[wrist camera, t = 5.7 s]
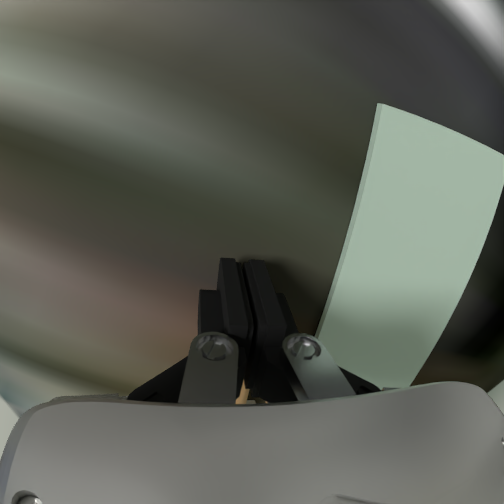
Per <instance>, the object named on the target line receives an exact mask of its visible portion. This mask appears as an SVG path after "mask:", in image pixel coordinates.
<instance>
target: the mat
mask: <svg viewBox="0 0 504 504" xmlns="http://www.w3.org/2000/svg"><path fill="white" fill-rule="evenodd" d="M503 185H504V155H503V154H501V153H499V152H497V151H495V150H493V149H491V148H489V147H487V146H485V145H483V144H481V143H479V142H477V141H475V140H473V139H471V138H469V137H466V136H464V135H462V134H460V133H458V132H455V131H453V130H451V129H448V128H446V127H444V126H441V125H439V124H436V123H434V122H431V121H429V120H426V119H424V118H421V117H419V116H416V115H413V114H411V113H408V112H405V111H402V110H399V109H396V108H393V107H391V106H387V105H384V104H380V103H377V109H376V114H375V119H374V124H373V129H372V134H371V138H370V143H369V148H368V152H367V157H366V161H365V165H364V170H363V174H362V178H361V182H360V186H359V190H358V194H357V198H356V202H355V206H354V210H353V214H352V217H351V221H350V225H349V228H348V232H347V236H346V239H345V243H344V246H343V250H342V253H341V257H340V260H339V263H338V267H337V270H336V273H335V276H334V280H333V283H332V286H331V289H330V292H329V295H328V298H327V301H326V305H325V308H324V311H323V314H322V316H321V319H320V322H319V325H318V328H317V331H316V334H315V337H316V338H317V339H319V340H320V341H321V342H322V343H323V344H324V346H325V347H326V349H327V350H328V352H329V353H330V355H331V357H332V358H333V360H334V361H335V363H336V364H337V366H339V367H341V368H343V369H345V370H347V371H349V372H351V373H353V374H355V375H357V376H358V377H360V378H362V379H364V380H366V381H368V382H370V383H372V384H374V385H376V386H377V387H379V389H380V390H382V388H383V387H389V388H405V387H409V386H410V385H411V383H412V382H413V380H414V379H415V377H416V375H417V374H418V372H419V371H420V369H421V368H422V366H423V364H424V363H425V361H426V360H427V358H428V356H429V355H430V353H431V351H432V350H433V348H434V346H435V345H436V343H437V341H438V339H439V338H440V336H441V334H442V332H443V330H444V329H445V327H446V325H447V323H448V321H449V319H450V317H451V315H452V314H453V312H454V310H455V308H456V306H457V304H458V302H459V300H460V298H461V295H462V293H463V291H464V289H465V287H466V285H467V283H468V280H469V278H470V276H471V274H472V271H473V269H474V267H475V264H476V262H477V260H478V257H479V255H480V252H481V250H482V247H483V245H484V242H485V239H486V237H487V234H488V231H489V229H490V226H491V223H492V220H493V217H494V214H495V211H496V208H497V205H498V202H499V198H500V195H501V192H502V188H503Z"/></svg>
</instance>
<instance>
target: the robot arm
mask: <svg viewBox="0 0 504 504" xmlns="http://www.w3.org/2000/svg"><path fill="white" fill-rule="evenodd" d="M243 380H244V385H245V389H250V391H251V396H252V397H260V398H262V399H263V400H265V403H260V404H236V399H237V398H238V397H240V392H241V389H242V385H243ZM33 503H34V504H504V415H503V413H502V412H501V410H500V409H499V408H498V406H497V405H496V404H495V402H494V401H493V400H492V399H491V398H490V396H489V395H488V394H487V393H486V392H485V391H484V390H483V389H482V388H480V387H478V386H476V385H473V384H470V383H465V382H458V381H445V382H434V383H429V384H423V385H416V386H411V387H405V388H389V387H383V388H382V390H380V389H379V387H377V386H376V385H374V384H372V383H370V382H368V381H366V380H364V379H362V378H360V377H358V376H357V375H355V374H353V373H351V372H349V371H347V370H345V369H343V368H341V367H339V366H337V364H336V363H335V361H334V360H333V358H332V357H331V355H330V353H329V352H328V350H327V349H326V347H325V346H324V344H323V343H322V342H321V341H320V340H319V339H317V338H316V337H314V336H311V335H309V334H304V333H299V332H298V330H297V327H296V324H295V322H294V319H293V317H292V314H291V311H290V309H289V306H288V304H287V301H286V298H285V296H284V294H282V293H275V290H274V288H273V285H272V282H271V279H270V276H269V273H268V271H267V268H266V265H265V262H264V260H249V262H248V263H244V264H243V269H241V264H240V263H239V262H236V261H235V259H233V258H220V264H219V273H218V282H217V290H200V292H199V305H198V335H197V336H196V337H195V338H194V339H193V341H192V343H191V346H190V350H189V355H188V356H187V357H186V358H184V359H182V360H181V361H179V362H178V363H176V364H175V365H173V366H172V367H170V368H168V369H167V370H165V371H164V372H162V373H161V374H159V375H157V376H156V377H154V378H153V379H151V380H150V381H148V382H146V383H145V384H143V385H141V386H140V387H138V388H137V389H135V390H134V391H133V392H131V393H130V394H129V396H122V397H119V395H118V393H117V394H103V395H83V396H61V397H56V398H54V399H52V400H50V401H49V402H46V403H42V404H39V405H37V406H34V407H32V408H31V409H29V410H27V411H26V412H25V413H24V414H23V415H22V416H21V417H20V418H19V420H18V421H17V423H16V424H15V426H14V428H13V430H12V431H11V433H10V436H9V438H8V440H7V443H6V446H5V448H4V451H3V454H2V457H1V460H0V504H33Z"/></svg>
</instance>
